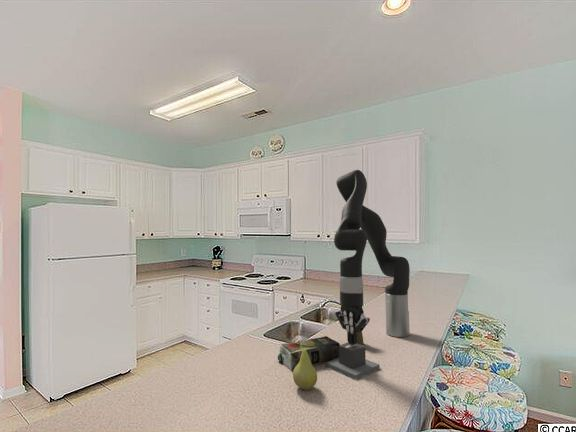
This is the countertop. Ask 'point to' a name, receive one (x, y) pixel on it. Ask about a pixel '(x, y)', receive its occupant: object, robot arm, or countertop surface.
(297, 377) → the fruit
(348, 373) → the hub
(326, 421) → the countertop surface
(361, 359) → the knob
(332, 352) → the juice carton
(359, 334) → the cork
